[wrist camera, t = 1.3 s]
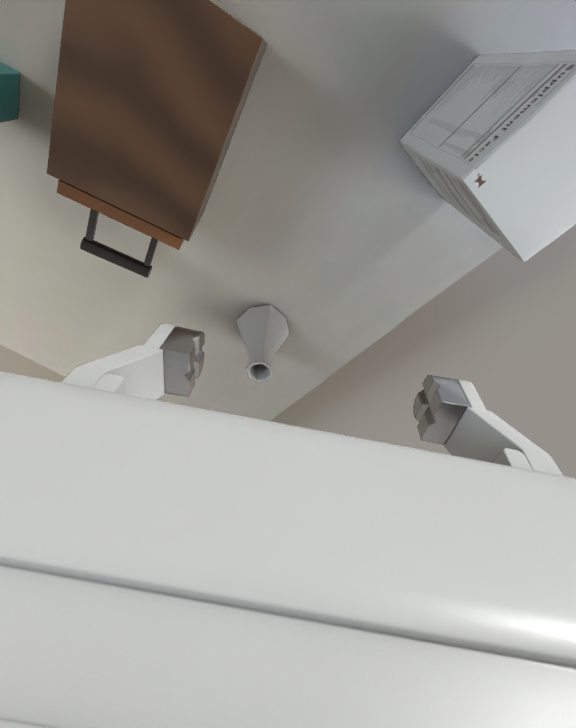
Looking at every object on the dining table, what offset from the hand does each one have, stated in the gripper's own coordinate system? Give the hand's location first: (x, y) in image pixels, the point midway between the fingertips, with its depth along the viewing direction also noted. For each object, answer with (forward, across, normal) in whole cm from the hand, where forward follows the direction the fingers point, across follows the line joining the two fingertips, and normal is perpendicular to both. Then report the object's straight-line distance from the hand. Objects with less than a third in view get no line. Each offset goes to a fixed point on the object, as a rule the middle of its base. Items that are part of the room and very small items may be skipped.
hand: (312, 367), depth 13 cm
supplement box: (+35, -12, -8) cm, 38 cm away
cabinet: (+31, +16, -6) cm, 36 cm away
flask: (+34, +5, +18) cm, 39 cm away
